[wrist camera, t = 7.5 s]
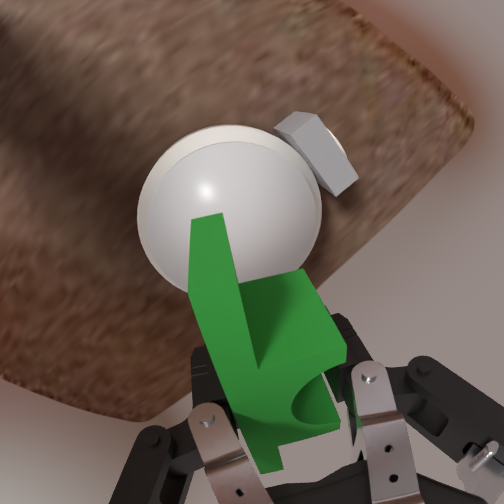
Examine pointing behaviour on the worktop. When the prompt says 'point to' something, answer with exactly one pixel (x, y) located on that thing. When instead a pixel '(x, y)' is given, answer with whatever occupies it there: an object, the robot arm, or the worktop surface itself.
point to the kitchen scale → (243, 195)
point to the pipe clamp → (264, 345)
